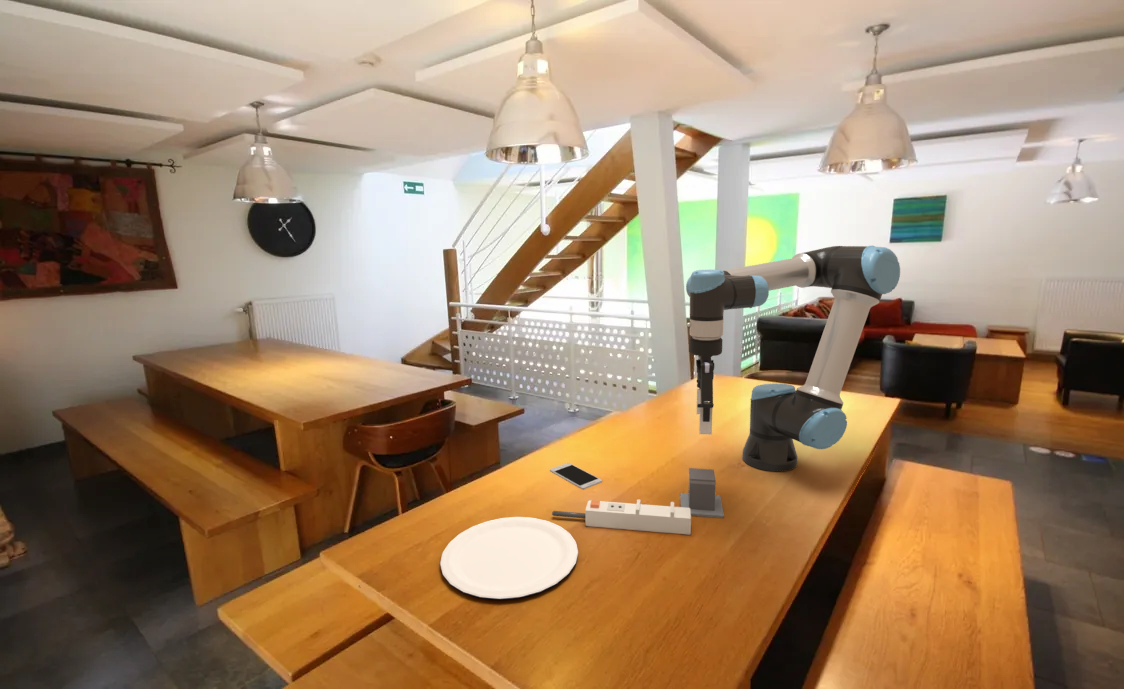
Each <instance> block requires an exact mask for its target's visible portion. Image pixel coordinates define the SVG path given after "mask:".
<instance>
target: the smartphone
mask: <svg viewBox="0 0 1124 689" xmlns="http://www.w3.org/2000/svg"><path fill="white" fill-rule="evenodd" d="M549 472H551V473H553V474H554V475H556V476H558V477H559V478H561V479H563V480H565V481H567V482H568V483H570V484H572V485H574V486H575V487H577V488H579V489H581V490H587V489H589V488H591V487H593V486H594V487H595V486H596V485H598V484H600V483H603V479H601V478H599V477H597V476H595V474H594V475H593V474H591V473H590V472H588V471H586V470H583V469H582V468H580V467H578V466H576V465H574V464H572V463H571V462H567V463H562V464H560V465H558V466H555V467H551V468H550V469H549Z"/></svg>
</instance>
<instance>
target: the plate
mask: <svg viewBox="0 0 1124 689" xmlns="http://www.w3.org/2000/svg"><path fill="white" fill-rule="evenodd" d="M578 549H579V548H578V545H577V542H576V540H575V539H574V537H573V536H572V534H571V533H570V531H568V530H566V529H565V528H563V527H562V526H561V525H558V524H556V523H554V522H552V521H548V520H545V519H541V518H535V517H529V516H526V517H525V516H511V517H510V516H509V517H500V518H496V519H492V520H485V521H484V522H481V523H479V524H476V525H472V526H471V527H469V528H467V529H465V530H464V531H462V532H460V533H458V535H456V536H455V537H454V538H453V539H451V541H449V542H448V544H447V545H446V547H445V549H444V550H443V551H442V553H441V558H440V562H439V564H440V569H441V573H442V576H443V577H444V578H445V580H446V581H447V582H448V584H449V585H450V586H452V587H453V588H455V589H456V590H458V591H460V592H462V593H463V594H465V595H466V594H467V595H470V596H474V597H477V598H480V599H489V600H490V599H492V600H499V601H500V600H509V599H510V600H511V599H520V598H525V597H527V596H531V595H535V594H539V593H541V592H544V591H546V590H548V589H550V588H552V587H554V586H556V585H557V584H559V583H560V582H561V581H562V580H564V578H566V577H567V576H569V574H570V573H571V571H572V570H573V568H574V567H575V566H576V563H577V560H578V556H579V550H578Z"/></svg>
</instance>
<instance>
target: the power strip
mask: <svg viewBox="0 0 1124 689" xmlns="http://www.w3.org/2000/svg"><path fill="white" fill-rule="evenodd" d="M551 515H552V516H554V517H563V518H564V517H565V518H572V519H573V518H575V519H585V527H595V528H604V529H605V528H608V529H615V530H616V529H619V530H628V531H629V530H631V531H632V530H633V531H641V532H642V531H643V532H654V533H664V534H679V535H690V536H691V535H692V534H691V532H692V531H691V530H692V528H691V526H692V525H691V524H692V516H691V512H690V508H685V507H681V506H675V502H674V501H670V505H669V506H668V505H657V504H642V503H641V499H636V503H629V502H616V501H615V502H614V501H604V500H602V501H601V500H587V504H586V507H585V511H584V512H575V511H573V512H572V511H561V510H553V511H551Z"/></svg>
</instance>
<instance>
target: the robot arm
mask: <svg viewBox="0 0 1124 689" xmlns="http://www.w3.org/2000/svg"><path fill="white" fill-rule="evenodd" d="M900 266H901V265H900V262H899V259H898V256H897V255H896V253H895V252H894V251H892V250H891V249H890V248H888V247H883V246H875V245H867V246H866V245H865V246H862V245H861V246H859V245H857V246H856V245H853V246H852V245H848V246H847V245H833V246H828V247H824V248H818V249H814V250H810V251H805V252H800V253H796V254H795V255H793V257H791V258H788V259H782V260H777V261H776V260H775V261H771V262H765V263H759V264H754V265H748V266H741V267H736V268H730V269H724V270H722V269H698V270H694V271H692V272H691V274H690V276H689V278H688V279H687V281H686V285H685V287H686V288H685V291H686V294H687V295H688V297H689V322H687V323H686V327H689V336H690V337H689V339H688V352H689V354H691V355H694V356H697V357H698V359H696V360H695V366H696V373H697V376H696V387H697V388H696V415H699V427H698V428H699V432H698V433H699V435H711V436H712V435H713V434H712V433H713V432H712V431H713V408H714V383H713V382H714V377H715V376H714V372H715V371H714V370H715V362H714V359H712V357H713V356H715V357H716V356H720V355H721V354H722V353H723V341H724V340H723V339H722V337H723V335H724V313H725V312H724V311H727V310H737V309H748V308H749V309H752V308H756V307H761V306H762V305H764V304H765V303H766V302H767V301H768V298H769V292H770V291H775V290H779V289H780V290H781V289H784V288H785V289H786V288H790V287H798V288H803V289H805V288H811V287H817V288H827V289H831V290H830V293H831V294H832V296H833V299H834V300H833V302H832V306H831V309H830V312H829V315H828V317H827V320H826V323H825V325H824V326H825V327H824V329H823V332H822V335H821V338H820V340H819V343H818V346H817V349H816V351H815V355H814V357H813V360H812V362H811V363H812V364H811V366H810V369H809V372H808V375H807V378H806V381H805V382H804V384H802V385H801V386H799V387H798V388H796V386H794V385H792V384H789V383H788V384H787V383H763V384H758V385H756V386H754V387H753V388H752V390H751V396H750V397H751V398H750V408H749V410H750V412H749V417H750V418H749V434H748V437H747V439H746V442H745V444H744V447H743V448H742V456H741V457H742V458H741V459H742V461H744V463H745V464H747V465H748V466H750V467H752V468H756V469H758V470H762V471H768V472H787V471H792V470H795V468H796V467H797V466H798V461H799V460H798V454H797V451H796V446H795V443H794V441H793V440H795V441H797V442H799V443H801V444H802V445H803V446H807V447H810V448H813V449H816V450H825V449H829V448H831V447H832V446H833V445H836V444H837V443H838V442H839V441H840V440H841V439H842V437H843V435H844V434H845V433H846V429H847V426H848V421H847V418H848V417H847V414H846V413H845V412H844V411H843V410H842V409H843V406H844V401H843V400H842V398H841V396H840V394H841V392H842V389H843V386H844V383H845V381H846V378H847V375H848V372H849V370H850V368H851V363H852V361H853V358H854V355H855V353H856V349H857V347H858V344H859V342H860V339H861V335H862V333H863V330H864V326H865V324H866V321H867V318H868V316H869V312H870V310H871V308H872V307H874V306H876V305H878V304H880V302H881V299H882V296H883V295H887V294H889V293H892V291H893V290H895V288H896V287H897V286H898V284H899V281H900V275H901V267H900Z"/></svg>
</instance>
